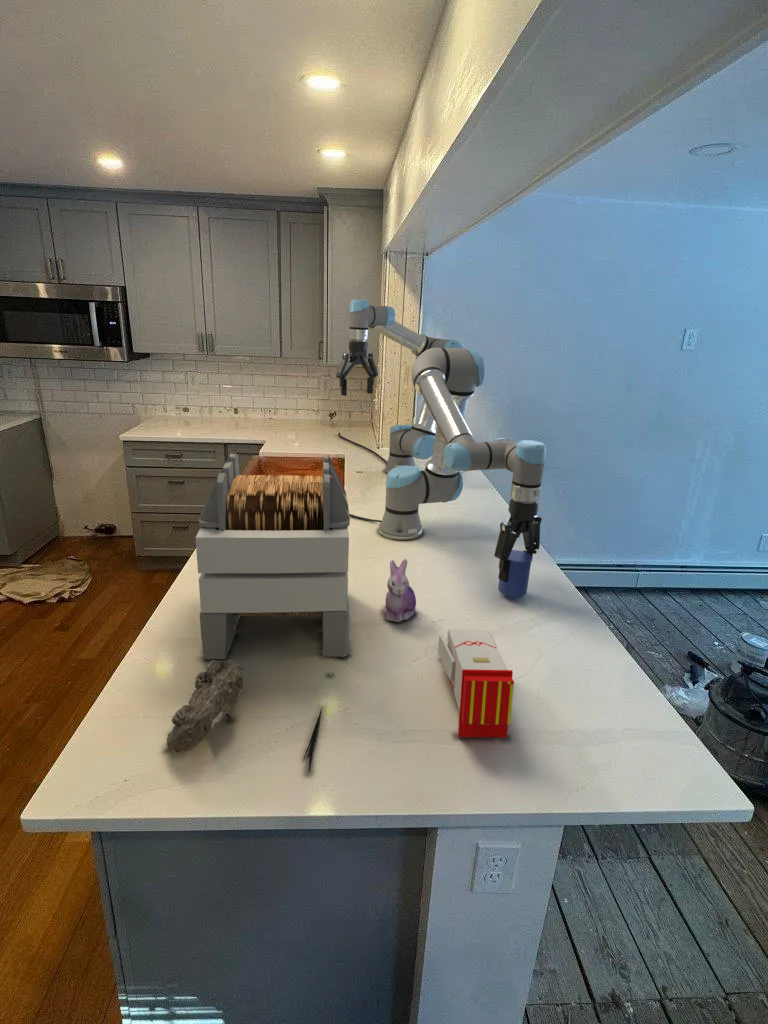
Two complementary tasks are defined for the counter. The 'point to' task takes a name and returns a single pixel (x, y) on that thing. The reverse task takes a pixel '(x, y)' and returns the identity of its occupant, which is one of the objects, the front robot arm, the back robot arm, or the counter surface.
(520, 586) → the cylinder
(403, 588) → the figurine
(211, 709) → the fossil
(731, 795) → the counter surface
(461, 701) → the toy
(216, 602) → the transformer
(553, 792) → the counter surface
